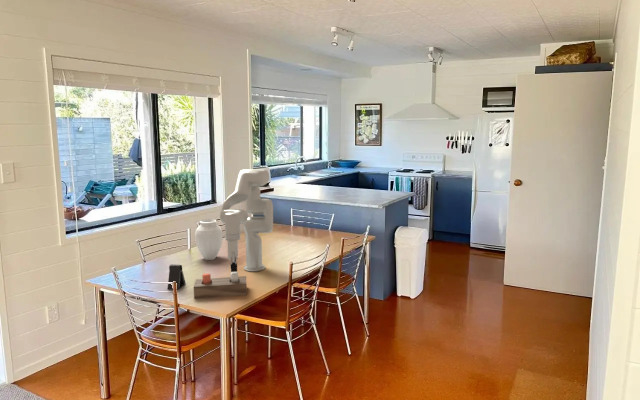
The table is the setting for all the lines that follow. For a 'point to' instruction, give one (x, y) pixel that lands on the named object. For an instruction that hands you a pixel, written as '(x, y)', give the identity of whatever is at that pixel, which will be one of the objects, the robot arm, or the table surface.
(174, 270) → the phone stand
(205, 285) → the plug block
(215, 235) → the vase
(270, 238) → the table surface
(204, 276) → the red plug
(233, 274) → the white plug
